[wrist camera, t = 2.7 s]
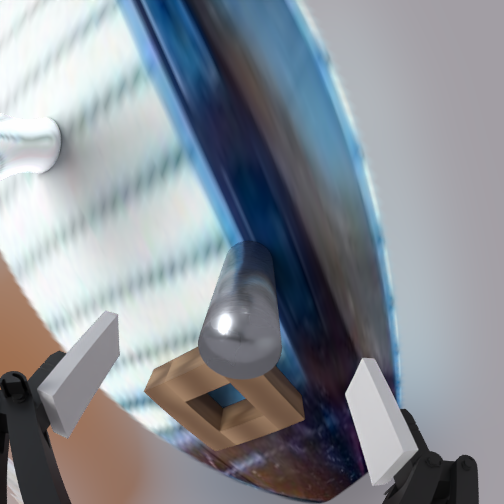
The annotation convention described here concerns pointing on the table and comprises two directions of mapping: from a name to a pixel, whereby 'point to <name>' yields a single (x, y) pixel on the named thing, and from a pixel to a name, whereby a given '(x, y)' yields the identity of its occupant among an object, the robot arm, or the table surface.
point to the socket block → (211, 413)
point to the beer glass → (27, 145)
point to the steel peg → (243, 316)
